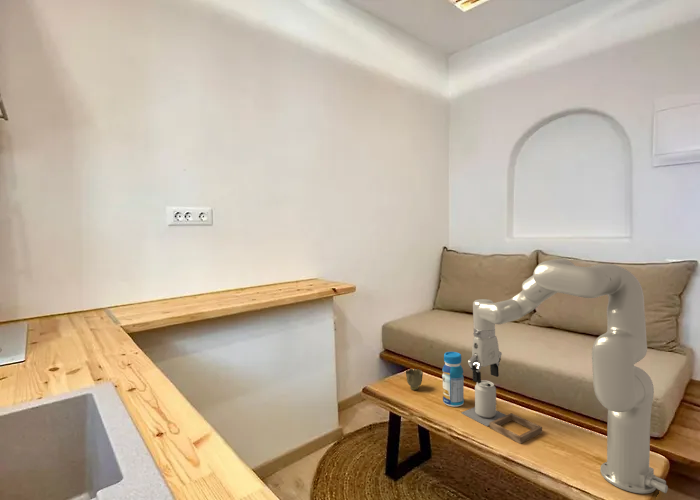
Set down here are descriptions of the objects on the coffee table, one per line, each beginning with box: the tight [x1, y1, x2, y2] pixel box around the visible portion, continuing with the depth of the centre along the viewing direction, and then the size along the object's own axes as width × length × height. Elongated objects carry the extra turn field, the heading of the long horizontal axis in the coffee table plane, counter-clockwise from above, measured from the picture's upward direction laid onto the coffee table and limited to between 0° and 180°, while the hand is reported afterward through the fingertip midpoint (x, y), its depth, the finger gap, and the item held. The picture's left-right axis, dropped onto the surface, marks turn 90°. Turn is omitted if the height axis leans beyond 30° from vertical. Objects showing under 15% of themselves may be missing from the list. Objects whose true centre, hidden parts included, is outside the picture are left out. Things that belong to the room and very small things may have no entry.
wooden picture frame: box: [489, 413, 543, 444], centre depth 134 cm, size 12×12×2 cm
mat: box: [461, 406, 507, 428], centre depth 145 cm, size 12×12×1 cm
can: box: [474, 379, 497, 418], centre depth 144 cm, size 8×8×12 cm
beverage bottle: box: [441, 351, 465, 408], centre depth 155 cm, size 8×8×20 cm
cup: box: [405, 368, 424, 391], centre depth 170 cm, size 8×7×8 cm
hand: (485, 378), depth 144 cm, fingers open, 9 cm apart
